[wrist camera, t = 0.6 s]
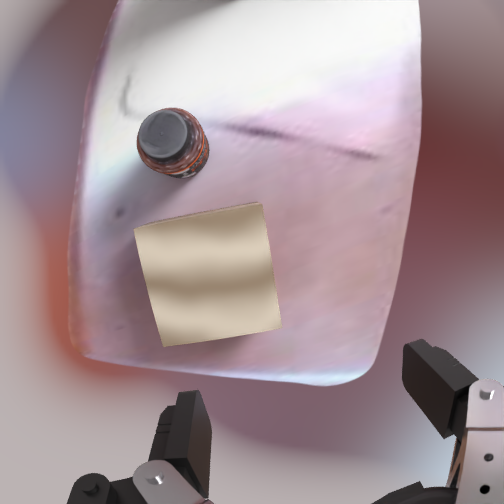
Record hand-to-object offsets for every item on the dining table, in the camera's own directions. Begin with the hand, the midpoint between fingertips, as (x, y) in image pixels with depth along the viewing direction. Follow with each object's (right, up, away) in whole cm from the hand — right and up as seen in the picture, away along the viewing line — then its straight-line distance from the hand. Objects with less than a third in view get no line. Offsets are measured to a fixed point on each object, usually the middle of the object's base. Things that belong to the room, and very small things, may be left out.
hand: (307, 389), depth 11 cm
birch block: (-6, +4, +25) cm, 27 cm away
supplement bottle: (-10, +16, +23) cm, 30 cm away
